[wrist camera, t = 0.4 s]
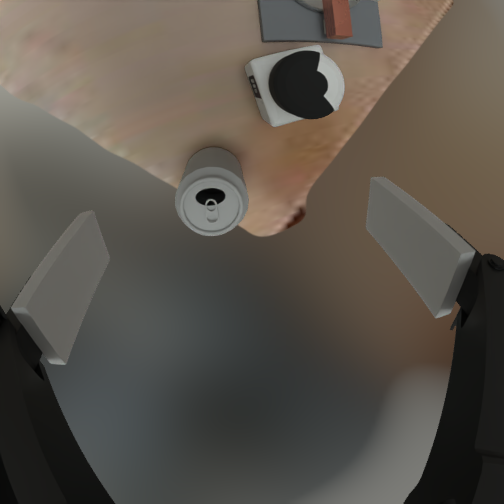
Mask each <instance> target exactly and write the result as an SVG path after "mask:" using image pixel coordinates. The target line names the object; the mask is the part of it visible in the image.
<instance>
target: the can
mask: <svg viewBox="0 0 504 504" xmlns="http://www.w3.org/2000/svg"><path fill="white" fill-rule="evenodd" d="M248 201H249V198H248V194H247V189H246V185H245V181H244V177H243V173H242V170H241V166H240V163H239V162H238V160H237V158H236V157H235V156H234V155H233V154H232V153H230V152H229V151H227V150H225V149H222V148H216V147H210V148H206V149H202V150H200V151H199V152H197V153H195V154H194V155H193V156H192V157H191V159H190V160H189V161H188V163H187V166H186V168H185V171H184V174H183V176H182V179H181V181H180V184H179V187H178V189H177V192H176V195H175V207H176V209H177V213H178V216H179V217H180V218H181V219H182V221H183V222H184V223H185V225H187V226H188V227H189V228H190V229H191V230H193V231H194V232H196V233H199V234H202V235H204V236H217V235H221V234H225V233H226V232H228V231H230V230H232V229H233V228H234V227H236V226H237V225H238V224H239V223H240V221H241V220H242V219H243V218H244V216H245V214H246V212H247V209H248Z"/></svg>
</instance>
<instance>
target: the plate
mask: <svg viewBox="0 0 504 504" xmlns="http://www.w3.org/2000/svg"><path fill="white" fill-rule="evenodd" d="M377 1H379V0H360V1H359V2H358V3H357V4H356V5H355V6H353V7H351V8H350V16H351V25H352V34H353V37H349V38H346V39H330V38H326V28H325V19H324V13H319V12H315V11H312V10H310V9H308V8H305V7H304V6H302V5H300V4H299V3H298V2H296V1H295V0H258V7H259V16H260V25H261V34H262V42H323V43H337V44H348V45H357V46H365V47H373V48H383V47H382V35H381V26H380V17H379V10H378V3H377Z"/></svg>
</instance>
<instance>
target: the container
mask: <svg viewBox="0 0 504 504" xmlns="http://www.w3.org/2000/svg"><path fill="white" fill-rule="evenodd" d="M245 71H246V74H247V76H248V79H249V82H250V85H251V88H252V90H253V93H254V96H255V99H256V102H257V105H258V108H259V111H260V113H261V116H262V119H263V120H265V121H266V122H267V123H269V124H270V125H271V126H273V127H277V126H281V125H284V124H287V123H291V122H294V121H298V120H302V119H318V118H322V117H325V116H327V115H329V114H330V113H332V112H333V111H337V110H338V109H339V104H340V103H341V101H342V98H343V95H344V89H345V85H344V78H343V75H342V73H341V71H340V69H339V67H338V66H337V65H336V63H335V62H334V61H333V60H332V59H330V58H329V57H327V56H326V55H324V54H323V51H322V48H321V46H320V45H313V46H307V47H302V48H297V49H292V50H288V51H283V52H279V53H275V54H271V55H267V56H263V57H259V58H256V59H253V60H251V61H250V62H249V63H247V64H246V65H245Z"/></svg>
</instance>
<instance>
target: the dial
mask: <svg viewBox="0 0 504 504" xmlns="http://www.w3.org/2000/svg"><path fill="white" fill-rule="evenodd" d="M295 1H296V2H298V3H299V4H300V5H302V6H304V7H305V8H308V9H310V10H312V11H315V12H319V13H324V19H325V28H326V38H330V39H346V38H349V37H353V34H352V25H351V16H350V8H351V7H353V6H355V5H356V4H357V3H358V2H359V1H360V0H295Z"/></svg>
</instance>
